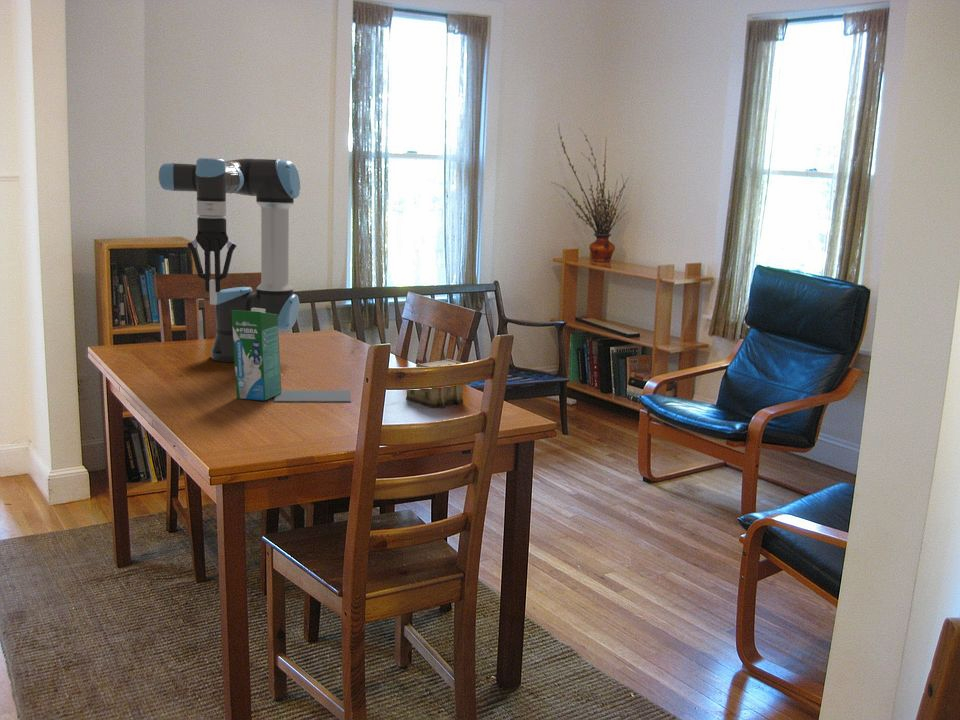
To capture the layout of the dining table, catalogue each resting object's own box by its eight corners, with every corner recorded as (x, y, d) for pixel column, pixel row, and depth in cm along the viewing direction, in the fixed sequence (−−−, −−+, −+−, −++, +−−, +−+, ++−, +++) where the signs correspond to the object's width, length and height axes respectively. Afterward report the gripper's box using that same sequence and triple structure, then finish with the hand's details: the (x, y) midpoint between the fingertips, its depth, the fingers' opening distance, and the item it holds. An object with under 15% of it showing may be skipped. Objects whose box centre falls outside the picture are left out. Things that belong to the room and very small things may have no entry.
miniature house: (472, 402, 271) (474, 363, 269) (436, 410, 261) (437, 369, 259) (436, 391, 281) (438, 353, 279) (400, 398, 271) (401, 359, 269)
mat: (276, 391, 274) (276, 389, 274) (350, 391, 277) (350, 390, 277) (274, 402, 262) (274, 400, 262) (350, 402, 265) (350, 400, 265)
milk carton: (281, 393, 270) (277, 306, 264) (264, 400, 261) (259, 311, 256) (254, 390, 273) (249, 304, 267) (236, 398, 264) (231, 309, 259)
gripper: (184, 217, 250) (186, 305, 255) (235, 218, 252) (236, 306, 257) (188, 215, 257) (190, 301, 262) (238, 216, 259) (239, 302, 264)
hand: (213, 303), depth 260 cm, fingers closed
